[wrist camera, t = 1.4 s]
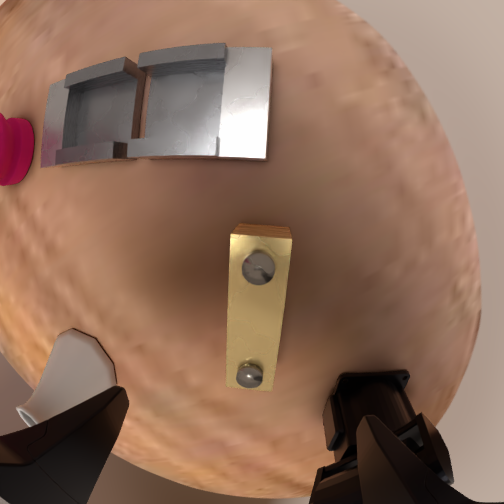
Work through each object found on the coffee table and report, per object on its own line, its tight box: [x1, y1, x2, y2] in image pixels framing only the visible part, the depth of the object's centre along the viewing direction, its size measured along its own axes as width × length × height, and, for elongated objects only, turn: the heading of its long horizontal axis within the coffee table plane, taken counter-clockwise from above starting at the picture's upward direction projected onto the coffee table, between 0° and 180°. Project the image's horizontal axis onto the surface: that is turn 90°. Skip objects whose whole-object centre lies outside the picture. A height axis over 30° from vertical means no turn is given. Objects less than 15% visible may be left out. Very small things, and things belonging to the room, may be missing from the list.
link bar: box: [226, 223, 292, 392], centre depth 16 cm, size 10×3×4 cm, turn 176°
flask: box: [16, 329, 116, 427], centre depth 17 cm, size 7×7×10 cm
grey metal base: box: [41, 43, 273, 168], centre depth 14 cm, size 16×6×3 cm, turn 86°
